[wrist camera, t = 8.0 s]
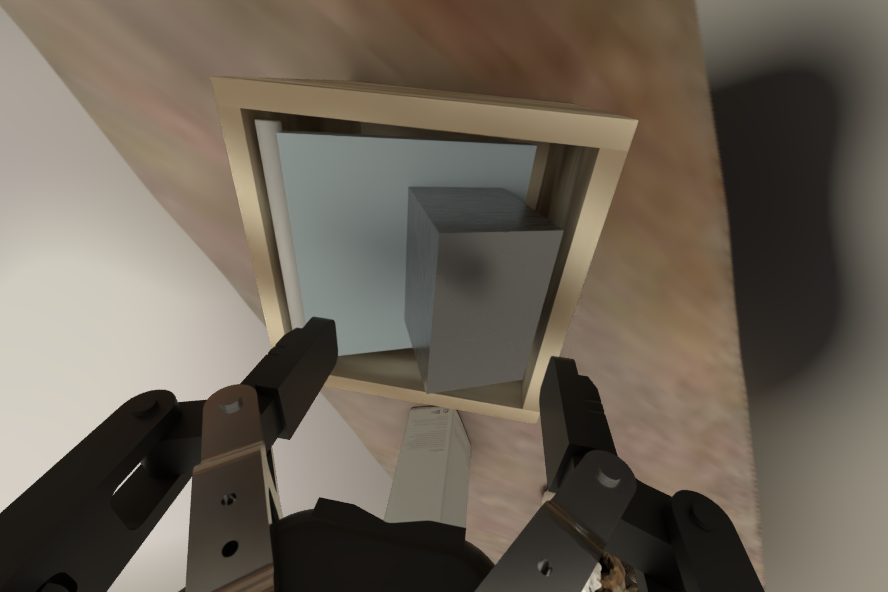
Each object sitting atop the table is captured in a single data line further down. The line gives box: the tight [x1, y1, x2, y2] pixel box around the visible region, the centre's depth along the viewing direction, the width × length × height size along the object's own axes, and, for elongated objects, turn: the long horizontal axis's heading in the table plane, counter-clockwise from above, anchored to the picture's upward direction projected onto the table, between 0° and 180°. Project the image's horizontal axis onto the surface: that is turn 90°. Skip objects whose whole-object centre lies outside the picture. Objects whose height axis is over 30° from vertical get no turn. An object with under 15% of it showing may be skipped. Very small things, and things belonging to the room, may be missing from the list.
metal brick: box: [404, 187, 564, 394], centre depth 17 cm, size 8×5×6 cm, turn 175°
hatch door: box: [255, 119, 537, 356], centre depth 20 cm, size 13×13×1 cm
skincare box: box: [384, 406, 471, 528], centre depth 37 cm, size 8×6×15 cm
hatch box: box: [210, 76, 639, 424], centre depth 23 cm, size 16×16×14 cm
